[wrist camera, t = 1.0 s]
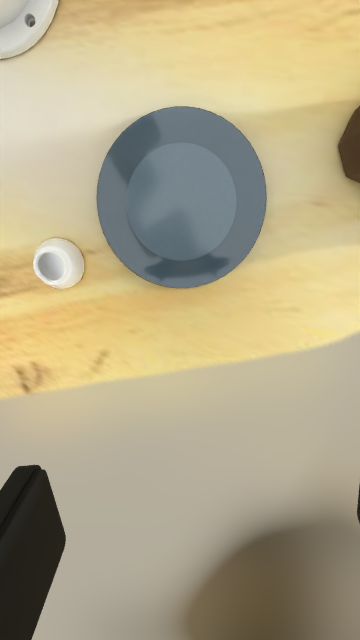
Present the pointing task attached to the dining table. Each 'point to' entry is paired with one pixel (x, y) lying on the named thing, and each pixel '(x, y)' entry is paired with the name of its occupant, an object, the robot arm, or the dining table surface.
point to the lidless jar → (58, 263)
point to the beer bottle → (351, 147)
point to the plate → (181, 197)
